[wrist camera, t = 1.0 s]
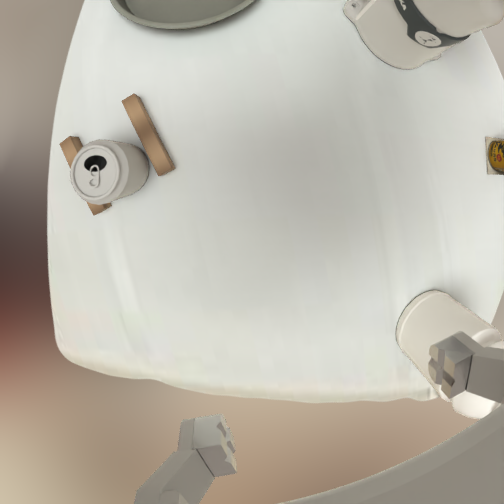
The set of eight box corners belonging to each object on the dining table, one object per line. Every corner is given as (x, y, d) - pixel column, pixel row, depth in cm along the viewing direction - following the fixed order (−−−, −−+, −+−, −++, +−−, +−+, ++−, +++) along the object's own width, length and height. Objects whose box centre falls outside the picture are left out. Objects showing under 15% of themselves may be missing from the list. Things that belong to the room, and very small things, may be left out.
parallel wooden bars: (175, 168, 42) (171, 168, 39) (101, 212, 43) (93, 215, 40) (139, 97, 39) (134, 93, 36) (68, 144, 39) (59, 143, 36)
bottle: (412, 363, 55) (486, 455, 29) (381, 328, 52) (468, 433, 25) (459, 315, 54) (548, 388, 27) (434, 273, 50) (544, 347, 23)
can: (150, 142, 41) (124, 135, 29) (150, 194, 43) (124, 206, 31) (102, 145, 40) (64, 141, 29) (102, 196, 42) (65, 207, 31)
